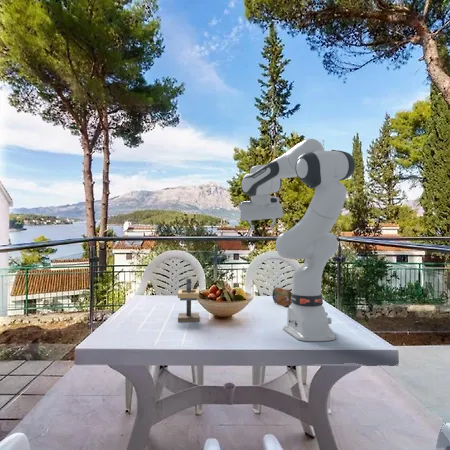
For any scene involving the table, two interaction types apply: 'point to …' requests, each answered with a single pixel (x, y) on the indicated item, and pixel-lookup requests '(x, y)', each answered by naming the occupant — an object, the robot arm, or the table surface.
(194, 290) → the tan rectangular frame
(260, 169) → the robot arm
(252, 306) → the table surface
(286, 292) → the tin
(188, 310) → the stand
